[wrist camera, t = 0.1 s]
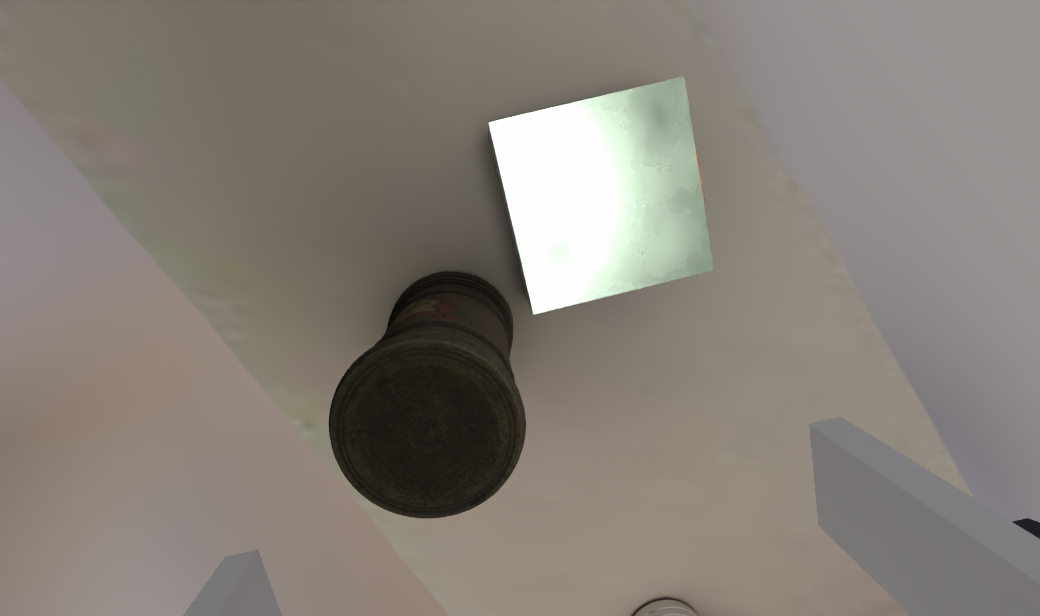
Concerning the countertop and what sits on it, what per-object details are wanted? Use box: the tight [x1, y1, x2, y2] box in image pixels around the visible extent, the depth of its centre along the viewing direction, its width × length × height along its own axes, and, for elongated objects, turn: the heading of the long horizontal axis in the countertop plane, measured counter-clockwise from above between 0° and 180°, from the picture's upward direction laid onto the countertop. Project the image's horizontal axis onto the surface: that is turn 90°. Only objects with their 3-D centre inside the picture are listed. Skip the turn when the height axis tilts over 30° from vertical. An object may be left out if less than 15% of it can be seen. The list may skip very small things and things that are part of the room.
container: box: [329, 272, 526, 518], centre depth 31 cm, size 9×9×18 cm
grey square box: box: [488, 76, 714, 314], centre depth 36 cm, size 12×13×6 cm
